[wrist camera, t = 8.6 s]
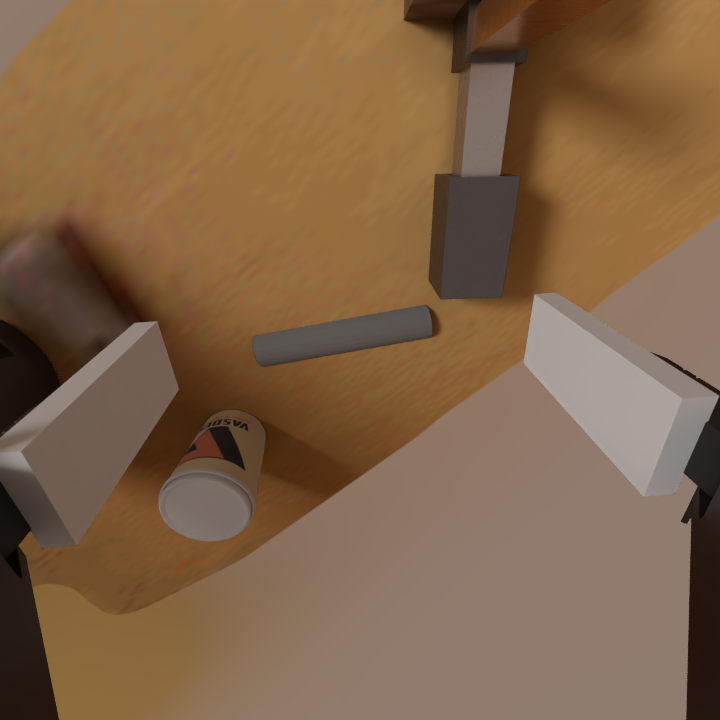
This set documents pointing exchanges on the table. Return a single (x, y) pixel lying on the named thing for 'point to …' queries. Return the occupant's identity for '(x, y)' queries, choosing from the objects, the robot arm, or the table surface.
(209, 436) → the coffee cup
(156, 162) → the table surface
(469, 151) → the sliding bar
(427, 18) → the walnut socket
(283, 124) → the table surface
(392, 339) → the half round rod
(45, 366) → the robot arm
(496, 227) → the dark grey block
